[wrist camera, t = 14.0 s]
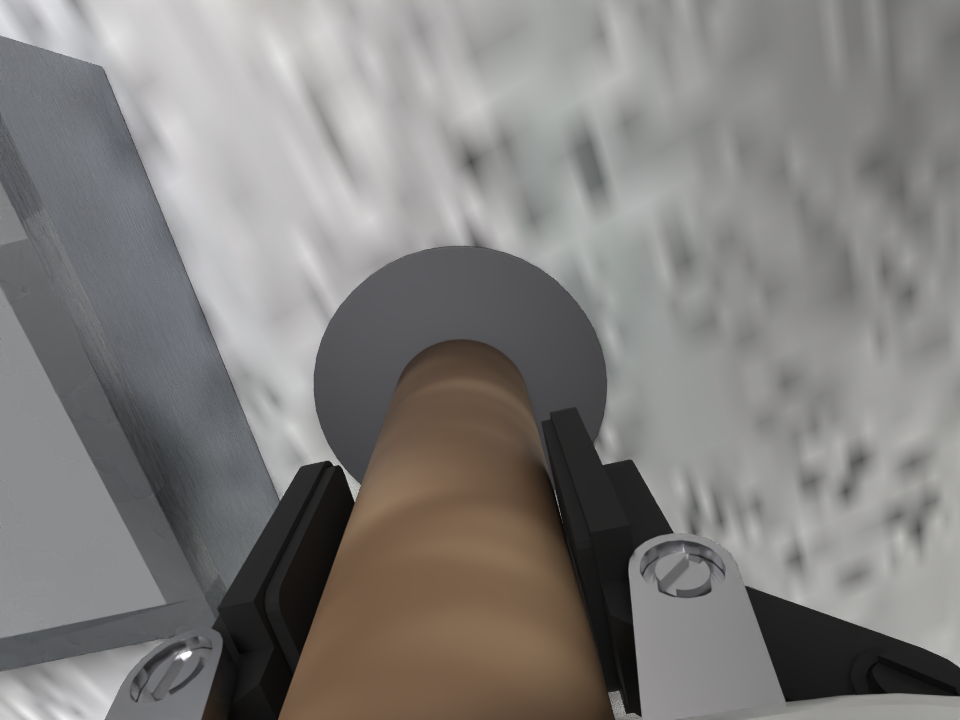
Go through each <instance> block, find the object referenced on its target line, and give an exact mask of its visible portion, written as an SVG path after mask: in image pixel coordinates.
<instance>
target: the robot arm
mask: <svg viewBox="0 0 960 720" xmlns="http://www.w3.org/2000/svg"><path fill="white" fill-rule="evenodd" d="M550 418H551V419H550V420H545V421H541V423H542V428H543V433H544V438H545V442H546V447H547V452H548V456H549V461H550V466H551V470H552V475H553V480H554V484H555V489H556V494H557V498H558V503H559V508H560V512H561V517H562V522H563V526H564V531H565V534H566V538H567V542H568V546H569V549H570V553H571V557H572V561H573V564H574V568H575V572H576V575H577V579H578V583H579V587H580V590H581V594H582V598H583V602H584V605H585V609H586V613H587V617H588V620H589V624H590V628H591V632H592V635H593V639H594V643H595V646H596V650H597V654H598V658H599V661H600V665H601V669H602V673H603V676H604V680H605V684H606V688H607V691H608V692H613V691H620V694H621V698H622V701H623V705H624V708H625V711H626V714H629V713H635V714H637V715H639V716H640V717H642V720H960V668H959V667H958V666H956V665H955V664H953V663H952V662H950V661H949V660H948V659H945V658H943V657H941V656H939V655H937V654H934V653H932V652H930V651H928V650H925V649H923V648H920V647H918V646H915V645H912V644H909V643H906V642H903V641H901V640H898V639H895V638H892V637H889V636H886V635H884V634H881V633H878V632H875V631H872V630H869V629H867V628H864V627H861V626H858V625H855V624H852V623H849V622H847V621H844V620H841V619H838V618H835V617H832V616H830V615H827V614H824V613H821V612H818V611H815V610H813V609H810V608H807V607H804V606H801V605H798V604H796V603H793V602H790V601H787V600H784V599H781V598H778V597H776V596H773V595H770V594H767V593H764V592H761V591H759V590H756V589H753V588H750V587H747V586H745V585H744V582H743V580H742V577H741V574H740V571H739V568H738V565H737V563H736V562H735V560H734V558H733V557H732V555H731V553H729V552H728V551H727V550H726V549H725V548H723V547H722V546H721V545H720V544H718V543H716V542H714V541H712V540H710V539H707V538H705V537H701V536H697V535H692V534H677V533H673V531H672V529H671V527H670V525H669V524H668V522H667V520H666V518H665V517H664V515H663V513H662V511H661V510H660V508H659V506H658V504H657V503H656V501H655V499H654V497H653V496H652V494H651V492H650V490H649V489H648V487H647V485H646V483H645V482H644V480H643V478H642V476H641V475H640V473H639V471H638V469H637V468H636V466H635V464H634V463H633V461H632V460H625V461H620V462H616V463H611V464H606V465H602V463H601V460H600V458H599V456H598V454H597V452H596V450H595V447H594V445H593V443H592V441H591V439H590V436H589V434H588V432H587V430H586V428H585V426H584V423H583V421H582V419H581V417H580V415H579V412H578V410H577V408H576V407H572V408H568V409H563V410H558V411H554V412H550ZM354 504H355V502H354V500H353V497H352V494H351V491H350V488H349V486H348V483H347V480H346V477H345V474H344V472H343V469H342V468H341V466H339V465H337V466H333V464H332V463H331V462H330V461H324V462H319V463H314V464H310V465H305V466H302V467H301V468H300V469H299V470H298V472H297V474H296V475H295V477H294V479H293V481H292V482H291V484H290V486H289V487H288V489H287V491H286V492H285V494H284V496H283V498H282V499H281V501H280V503H279V504H278V506H277V508H276V509H275V511H274V513H273V515H272V516H271V518H270V520H269V521H268V523H267V525H266V526H265V528H264V530H263V532H262V533H261V535H260V537H259V538H258V540H257V542H256V543H255V545H254V547H253V548H252V550H251V552H250V554H249V555H248V557H247V559H246V560H245V562H244V564H243V565H242V567H241V569H240V571H239V572H238V574H237V576H236V577H235V579H234V581H233V582H232V584H231V586H230V588H229V589H228V591H227V593H226V594H225V596H224V598H223V599H222V601H221V603H220V605H219V606H218V608H217V609H218V612H219V616H218V618H217V619H216V621H215V623H214V625H213V626H212V628H211V629H209V628H199V629H195V630H191V631H187V632H184V633H182V634H180V635H177V636H175V637H173V638H171V639H169V640H168V641H166V642H164V643H163V644H161V645H159V646H158V647H156V648H155V649H154V650H153V651H151V652H150V653H149V654H148V655H146V656H145V657H144V658H143V659H142V660H141V661H140V662H139V663H138V664H137V665H136V666H135V667H134V668H133V669H132V670H131V671H130V673H129V674H128V676H127V677H126V679H125V680H124V682H123V684H122V685H121V687H120V689H119V691H118V693H117V695H116V697H115V699H114V701H113V704H112V706H111V708H110V710H109V712H108V714H107V716H106V718H105V720H278V718H279V715H280V712H281V710H282V707H283V704H284V701H285V698H286V696H287V693H288V690H289V687H290V684H291V681H292V679H293V676H294V673H295V670H296V667H297V665H298V662H299V659H300V656H301V653H302V650H303V648H304V645H305V642H306V639H307V636H308V634H309V631H310V628H311V625H312V622H313V619H314V617H315V614H316V611H317V608H318V605H319V603H320V600H321V597H322V594H323V591H324V589H325V586H326V583H327V580H328V577H329V574H330V572H331V569H332V566H333V563H334V560H335V558H336V555H337V552H338V549H339V546H340V543H341V541H342V538H343V535H344V532H345V529H346V527H347V524H348V521H349V518H350V515H351V512H352V510H353V507H354Z"/></svg>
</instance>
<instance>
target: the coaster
mask: <svg viewBox="0 0 960 720" xmlns="http://www.w3.org/2000/svg"><path fill="white" fill-rule="evenodd" d="M454 339H467V340H474V341H479V342H482V343H485V344H488V345H490V346H492V347H494V348H496V349H498V350H499V351H501V352H502V353H504V354H505V355H506V356H507V357H508V358H509V359H511V361H512V362H513V363H514V364H515V365H516V366H517V368H518V370H519V371H520V373H521V375H522V377H523V379H524V382H525V385H526V389H527V392H528V396H529V400H530V404H531V407H532V411H533V415H534V418H535V422H536V426H537V430H538V433H539V437H540V441H541V445H542V448H543V452H544V456H545V460H546V463H547V467H548V471H549V475H550V478H551V482H552V486H553V489H554V490H555V484H554V480H553V475H552V470H551V466H550V461H549V456H548V452H547V447H546V442H545V438H544V433H543V428H542V423H541V421H545V420H550V419H551V418H550V412H554V411H558V410H563V409H568V408H572V407H576V408H577V410H578V412H579V415H580V417H581V419H582V421H583V423H584V426H585V428H586V430H587V432H588V434H589V436H590V439H591V441H592V443H593V442H594V440H595V438H596V436H597V434H598V431H599V428H600V425H601V422H602V419H603V414H604V409H605V404H606V393H607V377H606V366H605V361H604V357H603V353H602V349H601V345H600V343H599V340H598V338H597V335H596V333H595V330H594V328H593V327H592V325H591V323H590V321H589V320H588V318H587V316H586V314H585V313H584V311H583V310H582V309H581V308H580V306H579V305H578V304H577V302H576V301H575V300H574V298H573V297H572V296H571V295H570V294H569V293H568V292H567V291H566V290H565V289H564V288H563V287H562V286H561V285H560V284H559V283H558V282H557V281H556V280H555V279H553V278H552V277H551V276H549V275H548V274H546V273H545V272H544V271H542V270H541V269H539V268H538V267H536V266H534V265H532V264H530V263H528V262H527V261H525V260H523V259H520V258H518V257H515V256H512V255H510V254H507V253H505V252H500V251H496V250H492V249H488V248H482V247H471V246H446V247H439V248H433V249H427V250H423V251H420V252H416V253H413V254H410V255H407V256H404V257H402V258H400V259H398V260H396V261H394V262H391V263H389V264H387V265H386V266H384V267H383V268H381V269H380V270H378V271H377V272H375V273H373V274H372V275H371V276H370V277H368V278H367V279H366V280H365V281H364V282H363V283H361V284H360V285H359V286H358V287H357V288H356V289H355V290H354V291H353V292H352V293H351V294H350V295H349V296H348V297H347V299H346V300H345V301H344V302H343V303H342V304H341V305H340V307H339V308H338V310H337V311H336V313H335V314H334V316H333V318H332V319H331V321H330V322H329V324H328V327H327V329H326V331H325V333H324V335H323V337H322V340H321V343H320V347H319V350H318V353H317V357H316V364H315V370H314V398H315V405H316V411H317V415H318V418H319V422H320V425H321V428H322V430H323V433H324V435H325V437H326V440H327V442H328V444H329V446H330V447H331V449H332V451H333V452H334V454H335V456H336V457H337V459H338V460H339V461H340V463H341V464H342V465H343V466H344V468H345V469H346V470H347V471H348V472H349V473H350V474H351V475H352V476H353V477H354V478H355V479H356V480H357V481H358V482H359V483H360V484H362V481H363V479H364V476H365V473H366V470H367V467H368V465H369V462H370V459H371V456H372V453H373V451H374V448H375V445H376V442H377V439H378V436H379V434H380V431H381V428H382V425H383V422H384V420H385V417H386V414H387V411H388V408H389V405H390V403H391V400H392V397H393V394H394V391H395V389H396V386H397V383H398V380H399V377H400V375H401V374H402V372H403V370H404V368H405V367H406V366H407V364H408V363H409V362H410V361H411V360H412V359H413V358H414V357H415V356H416V355H417V354H418V353H420V352H421V351H423V350H424V349H426V348H428V347H430V346H432V345H434V344H436V343H440V342H443V341H448V340H454Z"/></svg>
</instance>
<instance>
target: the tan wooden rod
mask: <svg viewBox="0 0 960 720" xmlns="http://www.w3.org/2000/svg"><path fill="white" fill-rule="evenodd" d="M278 720H615V718H614V714H613V710H612V706H611V703H610V699H609V695H608V691H607V688H606V684H605V680H604V676H603V673H602V669H601V665H600V661H599V658H598V654H597V650H596V646H595V643H594V639H593V635H592V632H591V628H590V624H589V620H588V617H587V613H586V609H585V605H584V602H583V598H582V594H581V590H580V587H579V583H578V579H577V575H576V572H575V568H574V564H573V561H572V557H571V553H570V549H569V546H568V542H567V538H566V534H565V531H564V527H563V523H562V519H561V516H560V512H559V508H558V504H557V501H556V497H555V493H554V489H553V486H552V482H551V478H550V475H549V471H548V467H547V463H546V460H545V456H544V452H543V448H542V445H541V441H540V437H539V433H538V430H537V426H536V422H535V418H534V415H533V411H532V407H531V404H530V400H529V396H528V392H527V389H526V385H525V382H524V379H523V377H522V375H521V373H520V371H519V370H518V368H517V366H516V365H515V364H514V363H513V362H512V361H511V359H509V358H508V357H507V356H506V355H505V354H504V353H502V352H501V351H499V350H498V349H496V348H494V347H492V346H490V345H488V344H485V343H482V342H479V341H474V340H467V339H454V340H448V341H443V342H440V343H436V344H434V345H432V346H430V347H428V348H426V349H424V350H423V351H421V352H420V353H418V354H417V355H416V356H415V357H414V358H413V359H412V360H411V361H410V362H409V363H408V364H407V366H406V367H405V368H404V370H403V372H402V374H401V375H400V377H399V380H398V383H397V386H396V389H395V391H394V394H393V397H392V400H391V403H390V405H389V408H388V411H387V414H386V417H385V420H384V422H383V425H382V428H381V431H380V434H379V436H378V439H377V442H376V445H375V448H374V451H373V453H372V456H371V459H370V462H369V465H368V467H367V470H366V473H365V476H364V479H363V481H362V484H361V487H360V490H359V493H358V496H357V498H356V501H355V504H354V507H353V510H352V512H351V515H350V518H349V521H348V524H347V527H346V529H345V532H344V535H343V538H342V541H341V543H340V546H339V549H338V552H337V555H336V558H335V560H334V563H333V566H332V569H331V572H330V574H329V577H328V580H327V583H326V586H325V589H324V591H323V594H322V597H321V600H320V603H319V605H318V608H317V611H316V614H315V617H314V619H313V622H312V625H311V628H310V631H309V634H308V636H307V639H306V642H305V645H304V648H303V650H302V653H301V656H300V659H299V662H298V665H297V667H296V670H295V673H294V676H293V679H292V681H291V684H290V687H289V690H288V693H287V696H286V698H285V701H284V704H283V707H282V710H281V712H280V715H279V718H278Z"/></svg>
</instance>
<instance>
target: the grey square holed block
mask: <svg viewBox="0 0 960 720" xmlns="http://www.w3.org/2000/svg"><path fill="white" fill-rule="evenodd" d="M279 503H280V502H279V499H278V497H277V494H276V492H275V489H274V487H273V484H272V482H271V480H270V477H269V475H268V472H267V470H266V467H265V465H264V462H263V460H262V458H261V455H260V453H259V450H258V448H257V445H256V443H255V440H254V438H253V435H252V433H251V431H250V428H249V426H248V423H247V421H246V418H245V416H244V413H243V411H242V408H241V406H240V404H239V401H238V399H237V396H236V394H235V391H234V389H233V386H232V384H231V382H230V379H229V377H228V374H227V372H226V369H225V367H224V364H223V362H222V359H221V357H220V355H219V352H218V350H217V347H216V345H215V342H214V340H213V337H212V335H211V332H210V330H209V328H208V325H207V323H206V320H205V318H204V315H203V313H202V310H201V308H200V305H199V303H198V301H197V298H196V296H195V293H194V291H193V288H192V286H191V283H190V281H189V279H188V276H187V274H186V271H185V269H184V266H183V264H182V261H181V259H180V256H179V254H178V252H177V249H176V247H175V244H174V242H173V239H172V237H171V234H170V232H169V229H168V227H167V225H166V222H165V220H164V217H163V215H162V212H161V210H160V207H159V205H158V203H157V200H156V198H155V195H154V193H153V190H152V188H151V185H150V183H149V180H148V178H147V176H146V173H145V171H144V168H143V166H142V163H141V161H140V158H139V156H138V153H137V151H136V149H135V146H134V144H133V141H132V139H131V136H130V134H129V131H128V129H127V127H126V124H125V122H124V119H123V117H122V114H121V112H120V109H119V107H118V104H117V102H116V100H115V97H114V95H113V92H112V90H111V87H110V85H109V82H108V80H107V77H106V75H105V73H104V70H103V68H102V66H98V65H95V64H92V63H88V62H85V61H82V60H78V59H75V58H72V57H69V56H65V55H62V54H59V53H55V52H52V51H49V50H46V49H42V48H39V47H36V46H32V45H29V44H26V43H22V42H19V41H16V40H13V39H9V38H6V37H3V36H0V671H4V670H9V669H14V668H19V667H24V666H29V665H34V664H39V663H44V662H49V661H54V660H59V659H64V658H69V657H74V656H79V655H83V654H88V653H93V652H98V651H103V650H108V649H113V648H118V647H123V646H128V645H133V644H138V643H143V642H148V641H153V640H158V639H163V638H168V637H173V636H177V635H180V634H182V633H184V632H187V631H191V630H195V629H199V628H209V629H211V628H212V626H213V625H214V623H215V621H216V619H217V618H218V616H219V612H218V609H217V608H218V606H219V605H220V603H221V601H222V599H223V598H224V596H225V594H226V593H227V591H228V589H229V588H230V586H231V584H232V582H233V581H234V579H235V577H236V576H237V574H238V572H239V571H240V569H241V567H242V565H243V564H244V562H245V560H246V559H247V557H248V555H249V554H250V552H251V550H252V548H253V547H254V545H255V543H256V542H257V540H258V538H259V537H260V535H261V533H262V532H263V530H264V528H265V526H266V525H267V523H268V521H269V520H270V518H271V516H272V515H273V513H274V511H275V509H276V508H277V506H278V504H279Z"/></svg>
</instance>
